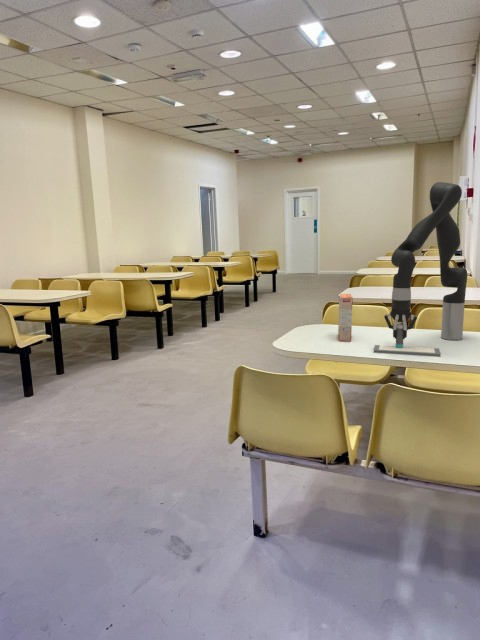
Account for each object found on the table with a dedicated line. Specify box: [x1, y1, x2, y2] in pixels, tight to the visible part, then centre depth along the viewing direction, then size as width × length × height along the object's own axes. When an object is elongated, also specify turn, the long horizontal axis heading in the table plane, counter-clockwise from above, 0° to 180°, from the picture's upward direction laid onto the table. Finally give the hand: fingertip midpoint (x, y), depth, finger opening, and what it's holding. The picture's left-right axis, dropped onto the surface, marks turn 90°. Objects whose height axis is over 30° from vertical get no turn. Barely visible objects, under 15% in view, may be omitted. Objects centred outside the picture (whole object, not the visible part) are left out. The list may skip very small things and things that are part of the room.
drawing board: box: [373, 344, 441, 358], centre depth 197 cm, size 10×26×1 cm, turn 70°
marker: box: [395, 323, 404, 348], centre depth 199 cm, size 3×3×10 cm
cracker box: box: [337, 293, 354, 342], centre depth 223 cm, size 14×6×21 cm, turn 170°
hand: (399, 338), depth 199 cm, fingers closed on marker, 3 cm apart
